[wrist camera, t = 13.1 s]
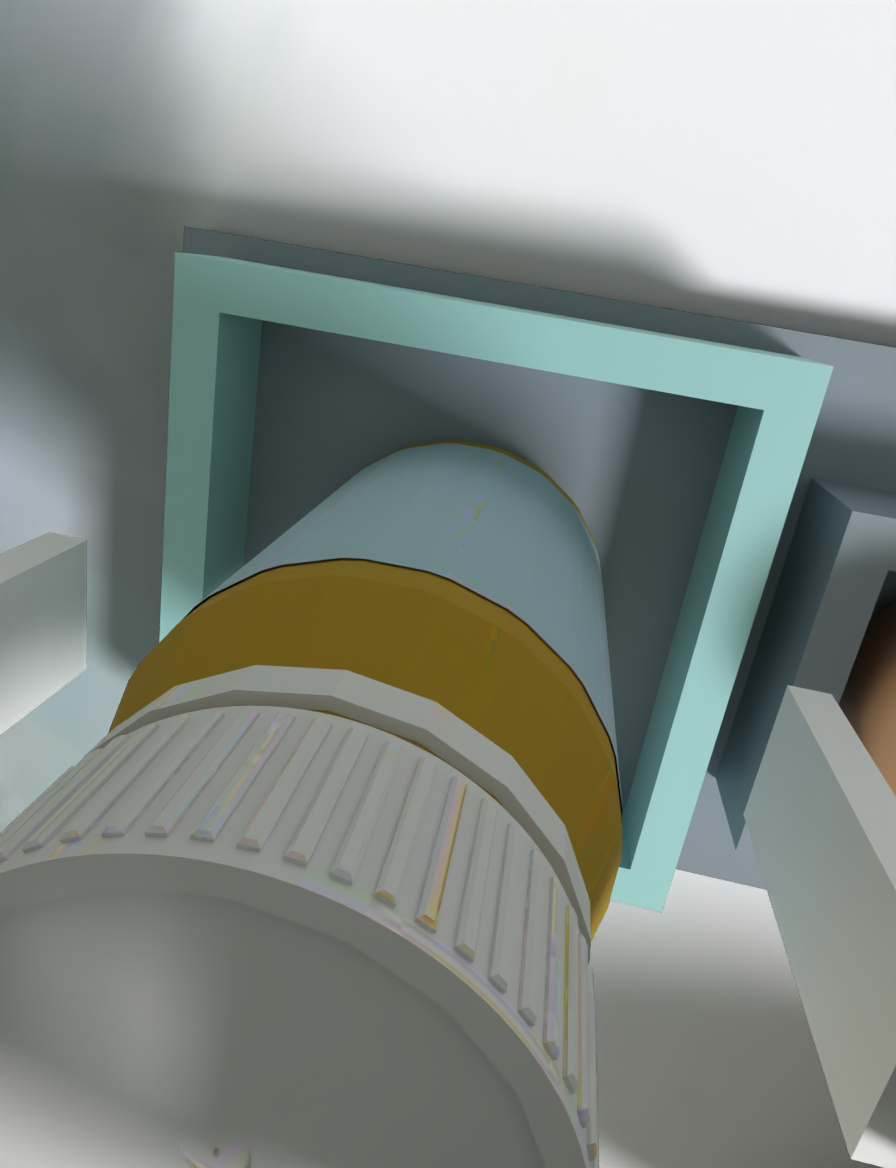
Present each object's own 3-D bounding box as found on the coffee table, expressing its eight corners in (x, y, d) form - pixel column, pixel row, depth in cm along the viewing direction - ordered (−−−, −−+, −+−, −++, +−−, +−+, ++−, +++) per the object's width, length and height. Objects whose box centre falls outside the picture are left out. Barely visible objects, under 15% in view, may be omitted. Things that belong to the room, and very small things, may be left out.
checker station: (206, 229, 20) (115, 215, 16) (1262, 410, 18) (1452, 443, 14) (180, 730, 25) (105, 812, 21) (1007, 917, 23) (1096, 1046, 19)
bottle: (402, 738, 22) (113, 1480, 8) (272, 510, 21) (-354, 957, 7) (647, 642, 21) (797, 1393, 7) (524, 383, 19) (371, 638, 5)
